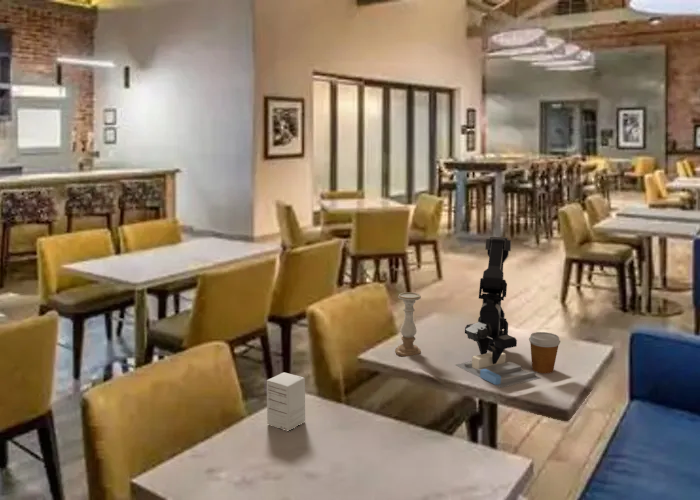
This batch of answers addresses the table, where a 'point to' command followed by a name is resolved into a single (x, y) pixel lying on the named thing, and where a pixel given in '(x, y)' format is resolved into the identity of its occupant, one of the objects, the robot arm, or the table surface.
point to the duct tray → (501, 373)
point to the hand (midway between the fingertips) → (488, 361)
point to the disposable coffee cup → (543, 351)
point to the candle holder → (408, 326)
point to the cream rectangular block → (486, 360)
